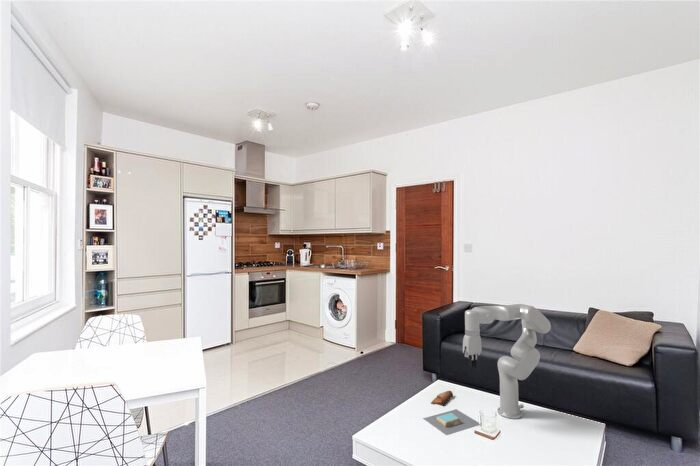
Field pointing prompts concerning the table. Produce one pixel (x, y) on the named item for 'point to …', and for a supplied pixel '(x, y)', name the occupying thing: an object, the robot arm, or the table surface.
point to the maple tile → (448, 420)
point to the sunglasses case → (442, 398)
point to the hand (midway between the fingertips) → (472, 366)
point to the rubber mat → (464, 424)
